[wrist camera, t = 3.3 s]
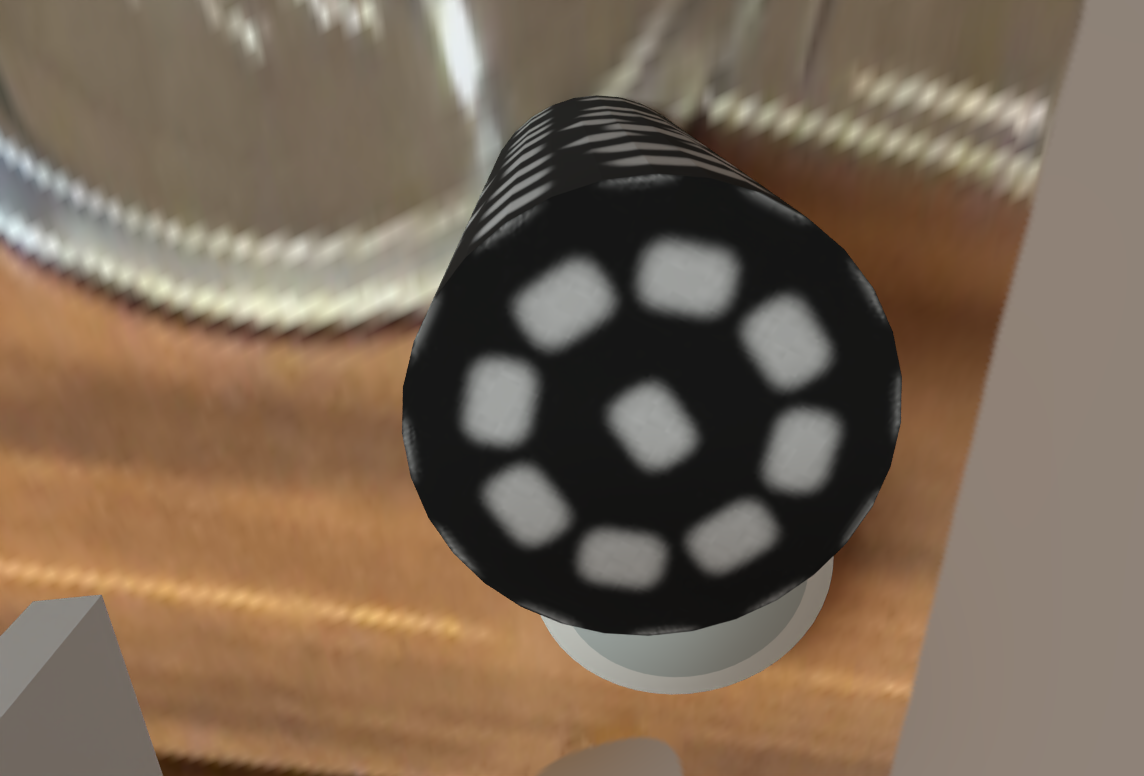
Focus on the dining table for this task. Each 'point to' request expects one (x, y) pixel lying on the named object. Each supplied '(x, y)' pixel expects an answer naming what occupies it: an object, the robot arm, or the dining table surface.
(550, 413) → the spotted tube
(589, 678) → the dining table surface
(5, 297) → the dining table surface
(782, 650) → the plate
